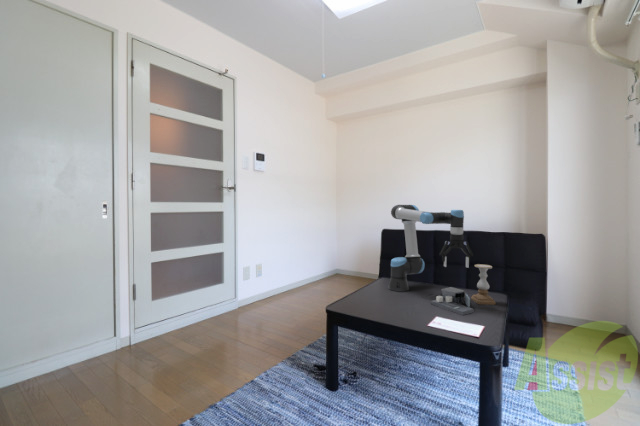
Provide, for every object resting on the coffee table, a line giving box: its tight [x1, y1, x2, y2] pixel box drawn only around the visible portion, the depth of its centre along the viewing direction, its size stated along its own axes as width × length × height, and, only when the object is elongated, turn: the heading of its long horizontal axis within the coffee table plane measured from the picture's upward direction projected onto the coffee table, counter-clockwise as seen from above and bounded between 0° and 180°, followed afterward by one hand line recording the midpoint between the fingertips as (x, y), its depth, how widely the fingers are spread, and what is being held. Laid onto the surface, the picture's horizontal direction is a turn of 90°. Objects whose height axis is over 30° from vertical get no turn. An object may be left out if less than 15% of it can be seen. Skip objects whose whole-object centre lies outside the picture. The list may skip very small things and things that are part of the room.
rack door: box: [464, 292, 474, 308], centre depth 180 cm, size 3×10×7 cm, turn 164°
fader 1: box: [435, 295, 443, 302], centre depth 181 cm, size 2×3×3 cm
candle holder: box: [470, 263, 496, 306], centre depth 188 cm, size 11×11×24 cm
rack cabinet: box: [440, 286, 466, 305], centre depth 187 cm, size 10×10×8 cm
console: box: [430, 299, 474, 316], centre depth 176 cm, size 22×10×2 cm, turn 29°
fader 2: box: [446, 296, 452, 302], centre depth 181 cm, size 2×3×3 cm
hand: (456, 267), depth 183 cm, fingers open, 13 cm apart
